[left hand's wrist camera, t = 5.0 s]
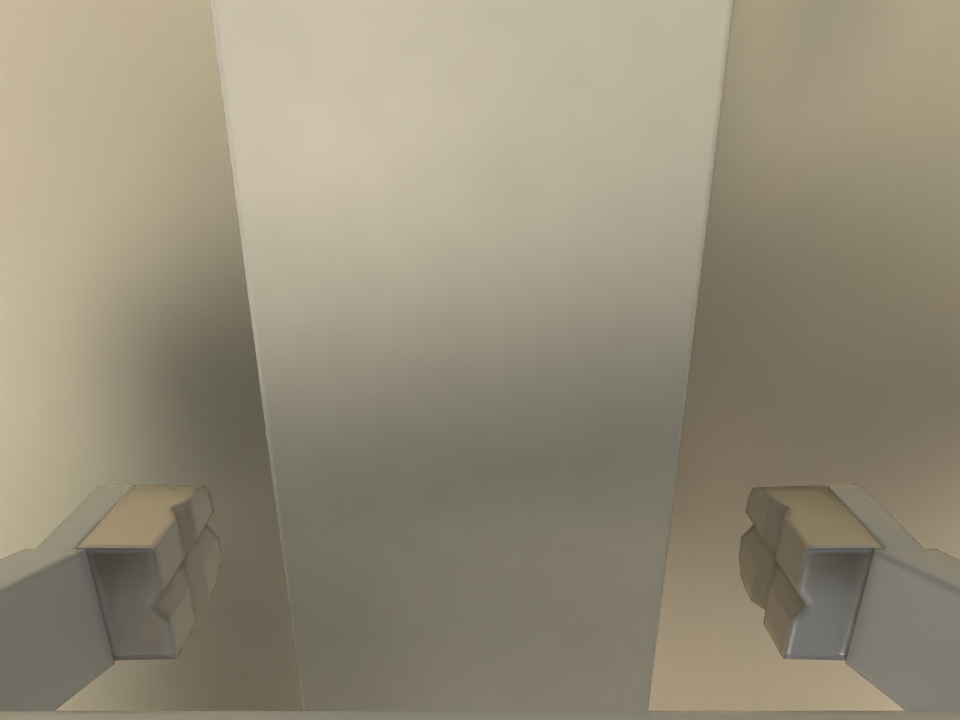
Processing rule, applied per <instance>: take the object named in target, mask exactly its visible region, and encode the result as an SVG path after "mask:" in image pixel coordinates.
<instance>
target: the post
mask: <svg viewBox="0 0 960 720" xmlns="http://www.w3.org/2000/svg"><path fill="white" fill-rule="evenodd" d="M209 1H210V8H211V16H212V24H213V31H214V39H215V47H216V54H217V62H218V69H219V77H220V85H221V92H222V100H223V108H224V115H225V123H226V130H227V138H228V146H229V153H230V161H231V169H232V176H233V184H234V191H235V199H236V207H237V214H238V222H239V230H240V237H241V245H242V252H243V260H244V268H245V275H246V283H247V291H248V298H249V306H250V313H251V321H252V329H253V336H254V344H255V352H256V359H257V367H258V374H259V382H260V390H261V397H262V405H263V413H264V420H265V428H266V435H267V443H268V451H269V458H270V466H271V474H272V481H273V489H274V496H275V504H276V512H277V519H278V527H279V535H280V542H281V550H282V557H283V565H284V573H285V580H286V588H287V596H288V603H289V611H290V618H291V626H292V634H293V641H294V649H295V657H296V664H297V672H298V679H299V687H300V695H301V702H302V710H303V711H648V705H649V697H650V689H651V681H652V672H653V664H654V656H655V648H656V639H657V631H658V623H659V615H660V606H661V598H662V590H663V582H664V573H665V565H666V557H667V549H668V540H669V532H670V524H671V516H672V507H673V499H674V491H675V483H676V474H677V466H678V458H679V450H680V441H681V433H682V425H683V417H684V408H685V400H686V392H687V384H688V375H689V367H690V359H691V351H692V342H693V334H694V326H695V318H696V309H697V301H698V293H699V285H700V276H701V268H702V260H703V252H704V244H705V235H706V227H707V219H708V211H709V202H710V194H711V186H712V178H713V169H714V161H715V153H716V145H717V136H718V128H719V120H720V112H721V103H722V95H723V87H724V79H725V70H726V62H727V54H728V46H729V37H730V29H731V21H732V13H733V4H734V0H209Z"/></svg>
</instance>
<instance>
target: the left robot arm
mask: <svg viewBox="0 0 960 720" xmlns="http://www.w3.org/2000/svg"><path fill="white" fill-rule="evenodd" d="M213 513H214V508H213V503H212V498H211V493H210V492H209V491H208V490H207V489H206V488H205V487H204V486H162V485H139V486H137V485H105V486H100V487H97V488H96V489H95V490H94V491H93V492H92V493H91V494H90V495H89V496H88V497H87V498H86V499H85V500H84V501H83V502H82V503H81V504H80V505H79V506H78V507H77V508H76V509H75V510H74V511H73V512H72V513H71V514H70V515H69V516H68V517H67V518H66V519H65V520H64V521H63V522H62V523H61V524H60V525H59V526H58V527H57V528H56V529H55V530H54V531H53V532H52V533H51V534H50V535H49V536H48V537H47V538H46V539H45V540H44V541H43V542H42V543H41V544H40V545H39V546H38V547H37V548H36V549H23V550H21V551H19V552H17V553H14V554H12V555H10V556H8V557H5V558H3V559H1V560H0V720H960V560H959V559H957V558H954V557H952V556H950V555H948V554H946V553H943V552H941V551H939V550H937V549H924V548H923V547H922V546H921V545H920V544H919V543H918V542H917V541H916V540H915V539H914V538H913V537H912V536H911V535H910V534H909V533H908V532H907V531H906V530H905V529H904V528H903V527H902V526H901V525H900V524H899V523H898V522H897V521H896V520H895V519H894V518H893V517H892V516H891V515H890V514H889V513H888V512H887V511H886V510H885V509H884V508H883V507H882V506H881V505H880V504H879V503H878V502H877V501H876V500H875V499H874V498H873V497H872V496H871V495H870V494H869V493H868V492H867V491H866V490H865V489H864V488H863V487H860V486H857V485H855V484H850V485H824V486H788V487H755V488H753V489H752V491H751V493H750V495H749V497H748V502H747V507H746V513H747V515H748V516H749V518H750V519H751V521H752V523H753V524H754V525H753V526H752V527H751V528H750V529H749V530H748V531H747V532H746V533H745V534H744V535H743V536H742V537H741V544H740V552H739V562H740V573H741V577H742V581H743V584H744V587H745V589H746V591H747V593H748V595H749V597H750V599H751V601H753V602H754V603H756V604H757V605H759V606H760V607H762V608H763V609H765V610H766V611H765V617H764V622H763V623H764V625H765V627H766V629H767V630H768V632H769V634H770V636H771V638H772V639H773V641H774V643H775V645H776V647H777V648H778V650H779V652H780V654H781V656H782V658H783V659H816V660H846V664H847V665H848V666H850V667H851V668H852V669H854V670H855V671H856V672H857V673H859V674H860V675H861V676H862V677H864V678H865V679H866V680H867V681H869V682H870V683H871V684H872V685H874V686H875V687H876V688H878V689H879V690H880V691H881V692H883V693H884V694H885V695H886V696H888V697H889V698H890V699H891V700H893V701H894V702H895V703H897V704H898V705H899V706H900V707H902V708H903V709H904V710H905V711H55V710H56V709H57V708H59V707H60V706H61V705H62V704H64V703H65V702H66V701H67V700H69V699H70V698H71V697H73V696H74V695H75V694H76V693H78V692H79V691H80V690H81V689H83V688H84V687H85V686H86V685H88V684H89V683H90V682H92V681H93V680H94V679H95V678H97V677H98V676H99V675H100V674H102V673H103V672H104V671H105V670H107V669H108V668H109V667H111V666H112V665H113V664H114V660H143V659H177V658H178V656H179V654H180V652H181V650H182V649H183V647H184V645H185V643H186V641H187V639H188V638H189V636H190V634H191V632H192V630H193V629H194V627H195V625H196V623H197V622H196V617H195V611H194V610H195V609H197V608H198V607H200V606H201V605H203V604H204V603H206V602H207V601H209V599H210V597H211V595H212V593H213V591H214V589H215V587H216V584H217V580H218V576H219V572H220V567H221V549H220V543H219V537H218V536H217V535H216V534H215V533H214V532H213V531H212V530H211V529H210V528H209V527H208V526H207V525H206V524H207V523H208V521H209V519H210V518H211V516H212V515H213Z"/></svg>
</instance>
